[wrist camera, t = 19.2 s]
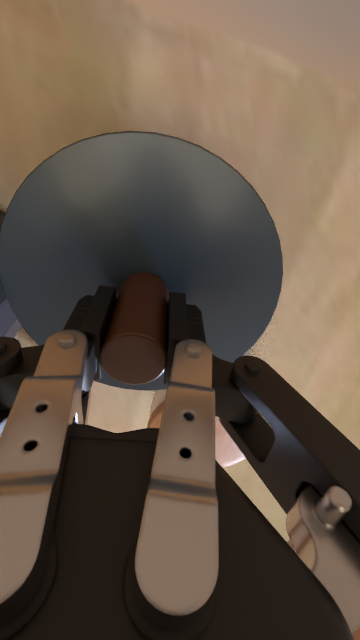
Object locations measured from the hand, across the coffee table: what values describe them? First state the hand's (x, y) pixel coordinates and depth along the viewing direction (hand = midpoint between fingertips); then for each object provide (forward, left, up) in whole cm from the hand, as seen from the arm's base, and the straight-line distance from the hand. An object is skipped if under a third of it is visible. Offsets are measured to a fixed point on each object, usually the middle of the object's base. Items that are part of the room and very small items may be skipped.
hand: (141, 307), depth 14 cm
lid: (0, 0, -2) cm, 2 cm away
